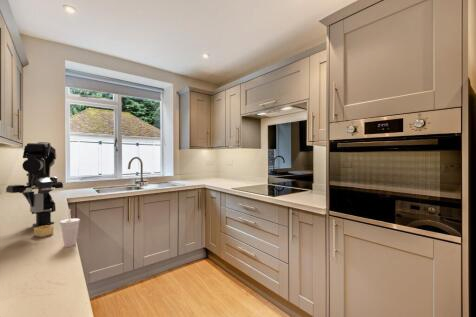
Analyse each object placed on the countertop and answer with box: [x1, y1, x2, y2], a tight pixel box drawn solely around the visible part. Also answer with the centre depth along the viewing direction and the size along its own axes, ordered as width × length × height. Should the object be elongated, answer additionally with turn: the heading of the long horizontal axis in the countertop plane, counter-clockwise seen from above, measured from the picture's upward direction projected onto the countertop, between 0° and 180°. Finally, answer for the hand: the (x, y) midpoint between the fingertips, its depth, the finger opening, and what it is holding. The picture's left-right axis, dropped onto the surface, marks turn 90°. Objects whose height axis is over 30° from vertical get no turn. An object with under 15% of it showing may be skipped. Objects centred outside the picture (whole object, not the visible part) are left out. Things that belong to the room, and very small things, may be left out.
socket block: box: [33, 224, 54, 239], centre depth 100 cm, size 5×5×4 cm
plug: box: [29, 192, 43, 213], centre depth 102 cm, size 4×3×8 cm
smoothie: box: [59, 208, 81, 248], centre depth 89 cm, size 6×6×14 cm
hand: (36, 206), depth 102 cm, fingers closed on plug, 3 cm apart
